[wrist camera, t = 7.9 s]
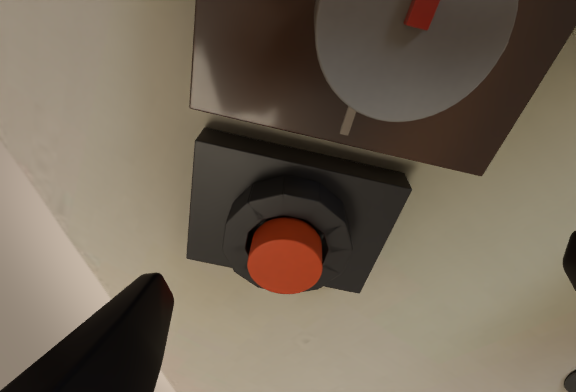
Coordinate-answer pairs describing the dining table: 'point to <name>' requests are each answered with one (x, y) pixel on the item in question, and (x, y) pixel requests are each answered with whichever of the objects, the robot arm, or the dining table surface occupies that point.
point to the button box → (290, 204)
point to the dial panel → (332, 110)
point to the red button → (285, 256)
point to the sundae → (571, 382)
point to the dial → (409, 52)
